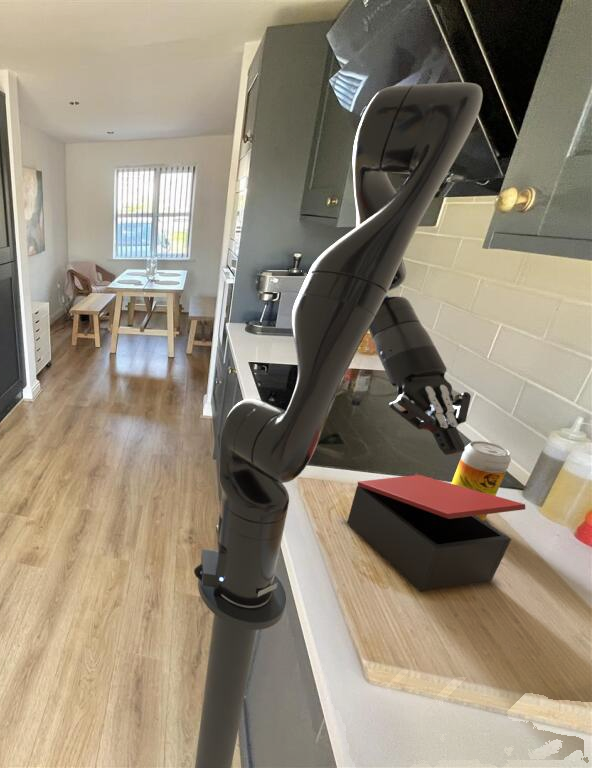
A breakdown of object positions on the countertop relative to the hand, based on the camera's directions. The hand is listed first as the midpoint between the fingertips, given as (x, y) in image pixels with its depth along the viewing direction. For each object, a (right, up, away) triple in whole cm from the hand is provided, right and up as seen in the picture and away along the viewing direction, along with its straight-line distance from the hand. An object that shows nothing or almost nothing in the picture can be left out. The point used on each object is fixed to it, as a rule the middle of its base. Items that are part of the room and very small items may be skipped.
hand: (455, 453), depth 61 cm
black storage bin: (+1, -19, +9) cm, 21 cm away
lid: (0, -8, +4) cm, 9 cm away
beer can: (+17, -15, +16) cm, 28 cm away
